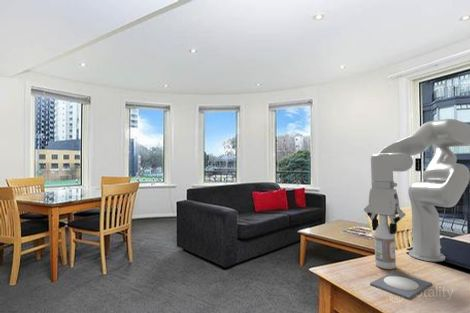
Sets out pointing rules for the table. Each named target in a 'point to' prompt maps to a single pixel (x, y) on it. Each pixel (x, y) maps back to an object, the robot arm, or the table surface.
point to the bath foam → (384, 245)
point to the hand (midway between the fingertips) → (384, 231)
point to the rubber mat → (401, 284)
